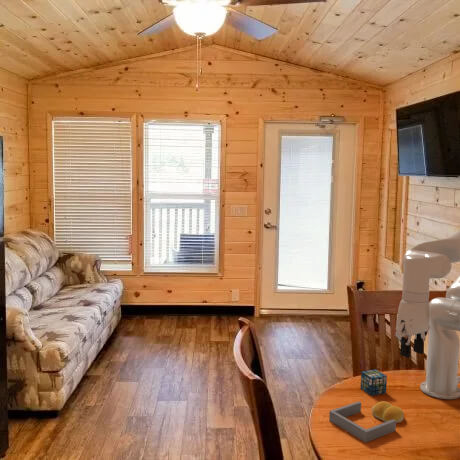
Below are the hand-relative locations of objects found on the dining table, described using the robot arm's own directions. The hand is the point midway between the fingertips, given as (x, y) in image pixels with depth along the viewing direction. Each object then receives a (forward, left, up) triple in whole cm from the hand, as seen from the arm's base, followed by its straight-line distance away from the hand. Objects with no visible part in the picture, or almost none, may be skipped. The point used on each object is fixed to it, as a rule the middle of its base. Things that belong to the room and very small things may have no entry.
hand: (411, 354), depth 155 cm
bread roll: (+10, 0, -18) cm, 20 cm away
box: (+20, 0, -17) cm, 26 cm away
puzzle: (0, -14, -18) cm, 23 cm away
